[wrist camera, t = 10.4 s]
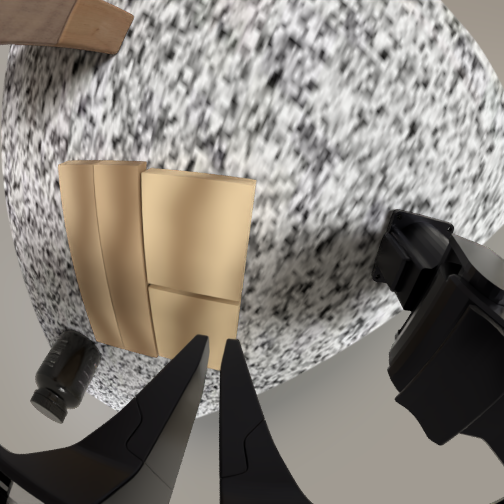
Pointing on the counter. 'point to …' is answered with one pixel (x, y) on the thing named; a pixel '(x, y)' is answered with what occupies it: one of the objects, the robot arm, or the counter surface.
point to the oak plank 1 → (196, 230)
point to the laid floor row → (109, 249)
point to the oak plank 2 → (192, 321)
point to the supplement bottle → (65, 375)
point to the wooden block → (64, 24)
